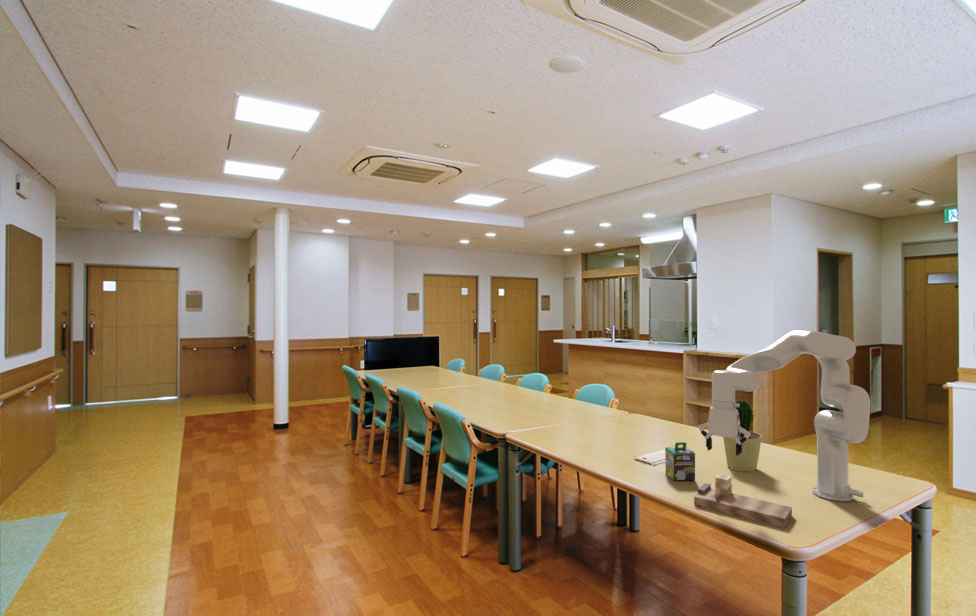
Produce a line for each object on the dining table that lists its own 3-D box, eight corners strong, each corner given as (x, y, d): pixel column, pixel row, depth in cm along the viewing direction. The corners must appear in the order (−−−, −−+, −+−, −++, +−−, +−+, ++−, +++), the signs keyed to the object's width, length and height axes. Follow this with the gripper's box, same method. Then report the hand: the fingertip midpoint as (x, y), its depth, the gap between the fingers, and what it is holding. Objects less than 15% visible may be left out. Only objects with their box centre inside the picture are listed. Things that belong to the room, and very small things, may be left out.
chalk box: (686, 473, 206) (686, 438, 206) (696, 481, 197) (696, 444, 197) (664, 473, 206) (664, 438, 206) (673, 481, 197) (673, 445, 197)
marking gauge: (731, 497, 178) (732, 475, 178) (722, 507, 169) (722, 484, 169) (720, 494, 180) (720, 473, 180) (710, 504, 171) (710, 482, 171)
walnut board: (791, 516, 164) (791, 502, 164) (784, 528, 155) (784, 514, 155) (705, 495, 183) (705, 483, 183) (694, 504, 174) (694, 492, 174)
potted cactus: (717, 467, 213) (717, 399, 213) (728, 459, 225) (728, 394, 225) (756, 476, 203) (756, 404, 203) (765, 467, 214) (766, 399, 214)
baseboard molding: (696, 455, 233) (673, 449, 243) (696, 449, 233) (673, 443, 243) (656, 467, 215) (634, 460, 225) (656, 461, 215) (634, 454, 225)
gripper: (752, 406, 173) (752, 454, 174) (702, 400, 185) (702, 445, 185) (747, 409, 168) (747, 459, 168) (695, 403, 179) (695, 449, 179)
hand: (723, 452), depth 176 cm, fingers open, 9 cm apart
